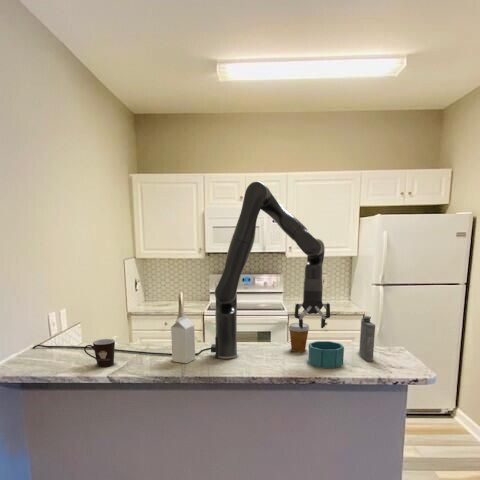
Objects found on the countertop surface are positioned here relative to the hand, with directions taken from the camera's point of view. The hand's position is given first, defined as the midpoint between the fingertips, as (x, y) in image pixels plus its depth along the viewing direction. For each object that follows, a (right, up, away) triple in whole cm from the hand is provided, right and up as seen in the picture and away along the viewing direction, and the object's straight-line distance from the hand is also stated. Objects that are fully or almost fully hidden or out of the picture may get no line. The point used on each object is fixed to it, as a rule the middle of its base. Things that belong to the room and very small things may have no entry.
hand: (311, 328), depth 167 cm
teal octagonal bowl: (+6, -15, +3) cm, 16 cm away
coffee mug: (-87, -15, +2) cm, 88 cm away
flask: (+25, -13, +11) cm, 31 cm away
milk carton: (-54, -14, +7) cm, 56 cm away
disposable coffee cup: (-2, -11, +22) cm, 24 cm away
